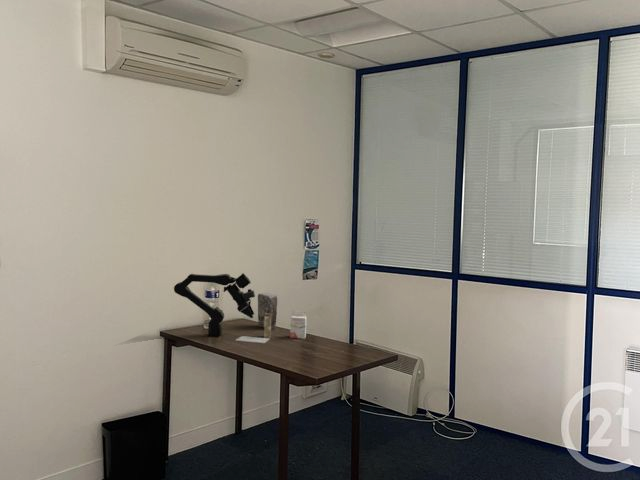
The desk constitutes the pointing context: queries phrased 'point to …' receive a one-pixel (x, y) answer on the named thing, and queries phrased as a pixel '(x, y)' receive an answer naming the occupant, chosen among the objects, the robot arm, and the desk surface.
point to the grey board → (252, 339)
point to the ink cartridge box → (298, 324)
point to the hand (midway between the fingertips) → (253, 316)
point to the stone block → (267, 308)
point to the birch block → (267, 325)
